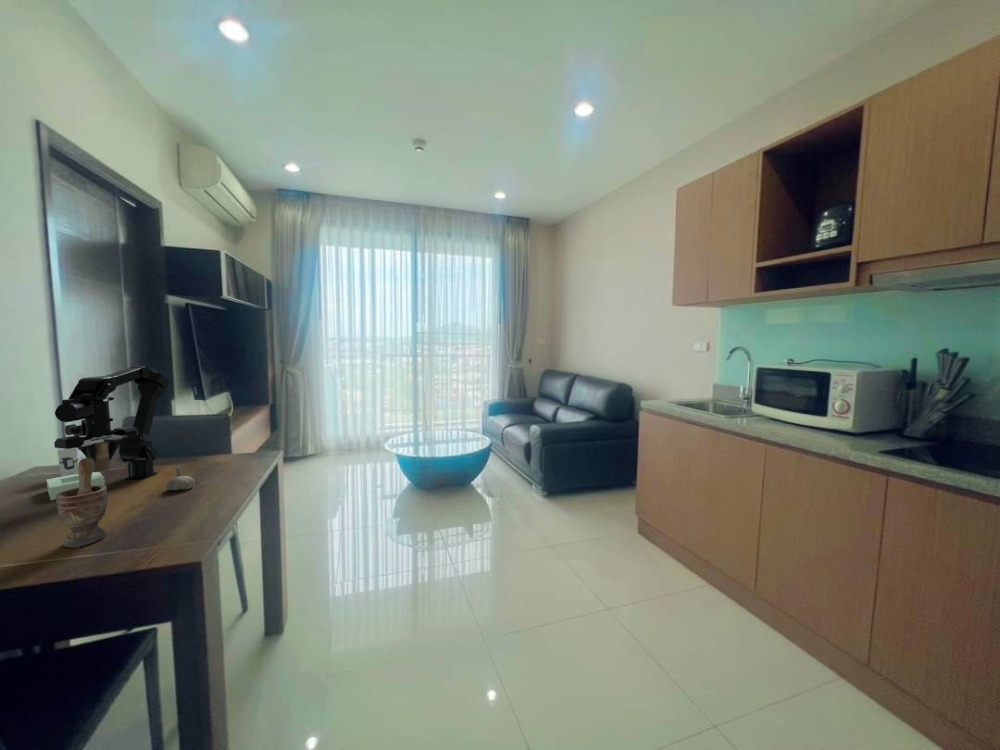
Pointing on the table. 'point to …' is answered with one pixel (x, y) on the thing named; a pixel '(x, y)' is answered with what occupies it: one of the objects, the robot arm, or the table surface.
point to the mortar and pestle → (83, 508)
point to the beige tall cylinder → (101, 457)
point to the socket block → (70, 483)
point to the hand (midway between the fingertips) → (100, 462)
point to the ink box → (69, 461)
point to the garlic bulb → (180, 482)
